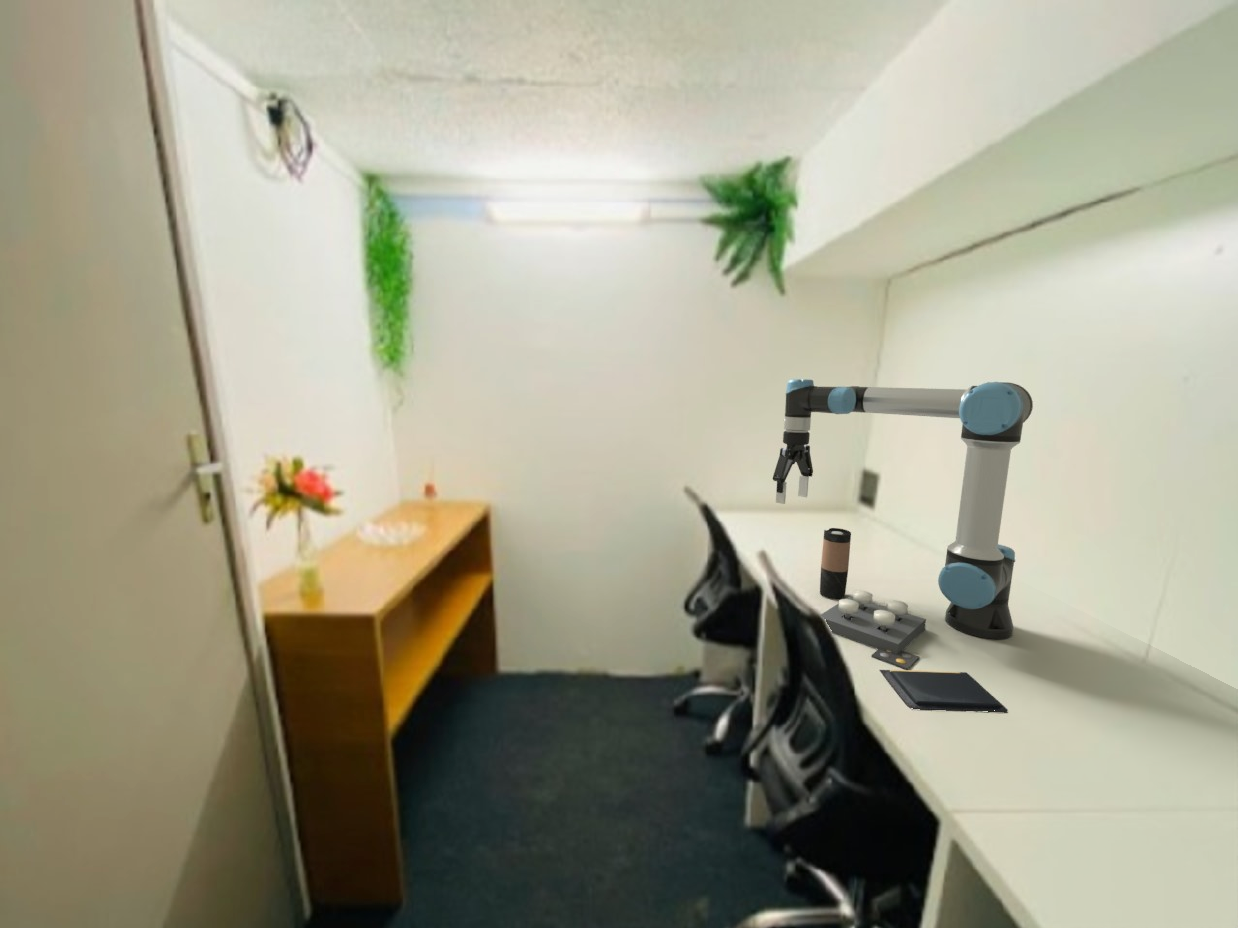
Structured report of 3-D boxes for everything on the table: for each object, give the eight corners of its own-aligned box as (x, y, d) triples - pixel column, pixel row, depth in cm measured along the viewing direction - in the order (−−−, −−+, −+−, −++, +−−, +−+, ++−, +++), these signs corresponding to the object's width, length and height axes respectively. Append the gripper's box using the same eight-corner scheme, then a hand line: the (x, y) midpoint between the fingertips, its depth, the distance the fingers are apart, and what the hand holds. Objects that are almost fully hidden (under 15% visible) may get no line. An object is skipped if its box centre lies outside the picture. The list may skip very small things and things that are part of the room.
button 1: (908, 621, 142) (910, 604, 141) (902, 627, 139) (904, 609, 138) (889, 615, 146) (891, 598, 145) (882, 620, 142) (884, 603, 142)
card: (919, 657, 128) (919, 655, 128) (907, 670, 123) (907, 667, 123) (884, 645, 134) (884, 643, 134) (871, 656, 128) (871, 654, 128)
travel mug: (848, 601, 160) (854, 535, 157) (820, 598, 162) (826, 534, 158) (843, 591, 167) (848, 528, 164) (817, 588, 169) (822, 526, 166)
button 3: (873, 610, 149) (875, 593, 148) (866, 615, 145) (868, 598, 145) (856, 604, 152) (857, 588, 151) (848, 609, 149) (850, 593, 148)
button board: (924, 629, 143) (926, 618, 142) (896, 655, 129) (898, 644, 128) (849, 605, 157) (850, 595, 156) (816, 626, 143) (817, 616, 143)
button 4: (860, 620, 143) (861, 603, 142) (852, 625, 139) (854, 608, 138) (842, 614, 146) (843, 597, 145) (834, 619, 143) (835, 602, 142)
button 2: (896, 632, 136) (898, 614, 135) (889, 638, 133) (891, 619, 132) (876, 625, 140) (878, 608, 139) (869, 631, 136) (870, 613, 135)
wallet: (909, 703, 108) (878, 663, 123) (908, 712, 108) (877, 671, 123) (1013, 708, 107) (969, 667, 122) (1012, 717, 107) (968, 675, 122)
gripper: (805, 427, 174) (800, 492, 177) (763, 432, 157) (759, 503, 160) (827, 429, 169) (822, 495, 172) (786, 434, 152) (781, 508, 155)
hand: (791, 499), depth 166 cm, fingers open, 13 cm apart
